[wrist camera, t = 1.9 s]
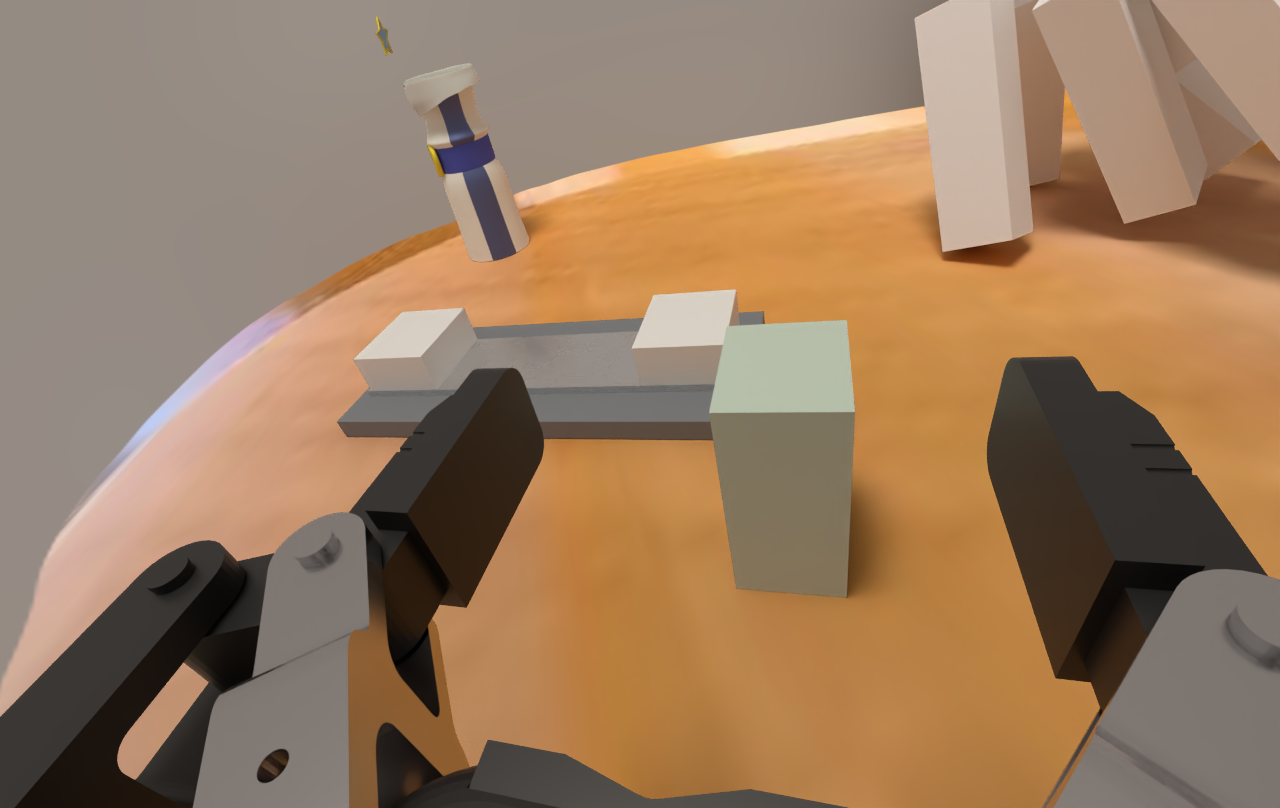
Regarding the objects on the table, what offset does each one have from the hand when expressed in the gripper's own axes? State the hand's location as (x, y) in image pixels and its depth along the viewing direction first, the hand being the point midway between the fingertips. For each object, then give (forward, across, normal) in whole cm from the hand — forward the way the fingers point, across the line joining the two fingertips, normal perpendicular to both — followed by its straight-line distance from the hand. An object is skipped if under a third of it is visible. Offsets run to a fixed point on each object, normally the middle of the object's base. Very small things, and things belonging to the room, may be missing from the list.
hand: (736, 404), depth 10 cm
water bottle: (+53, +36, +18) cm, 67 cm away
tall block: (+11, 0, +18) cm, 21 cm away
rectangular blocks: (+26, +18, +16) cm, 35 cm away
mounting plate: (+25, +18, +16) cm, 35 cm away
